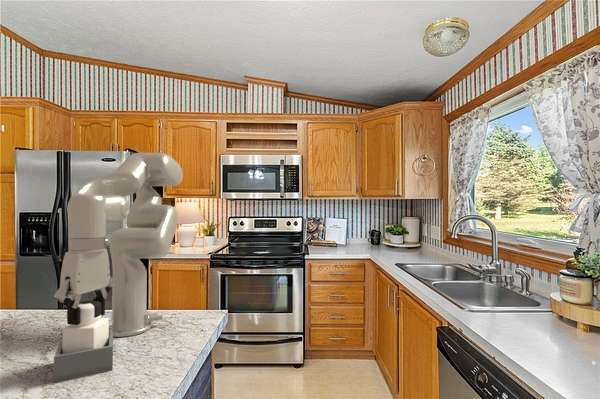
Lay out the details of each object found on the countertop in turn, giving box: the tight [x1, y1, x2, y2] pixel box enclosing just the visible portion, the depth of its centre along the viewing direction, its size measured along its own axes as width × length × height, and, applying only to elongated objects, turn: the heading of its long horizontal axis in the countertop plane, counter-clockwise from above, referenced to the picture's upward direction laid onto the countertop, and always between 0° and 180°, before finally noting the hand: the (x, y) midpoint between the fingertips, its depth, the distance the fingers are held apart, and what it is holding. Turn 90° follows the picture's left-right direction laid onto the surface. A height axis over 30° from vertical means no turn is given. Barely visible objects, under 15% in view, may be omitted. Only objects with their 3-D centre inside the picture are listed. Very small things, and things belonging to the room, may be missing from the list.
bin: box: [53, 331, 114, 383], centre depth 80 cm, size 11×11×6 cm
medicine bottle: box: [61, 300, 110, 354], centre depth 80 cm, size 7×7×12 cm
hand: (86, 318), depth 80 cm, fingers closed on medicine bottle, 6 cm apart
